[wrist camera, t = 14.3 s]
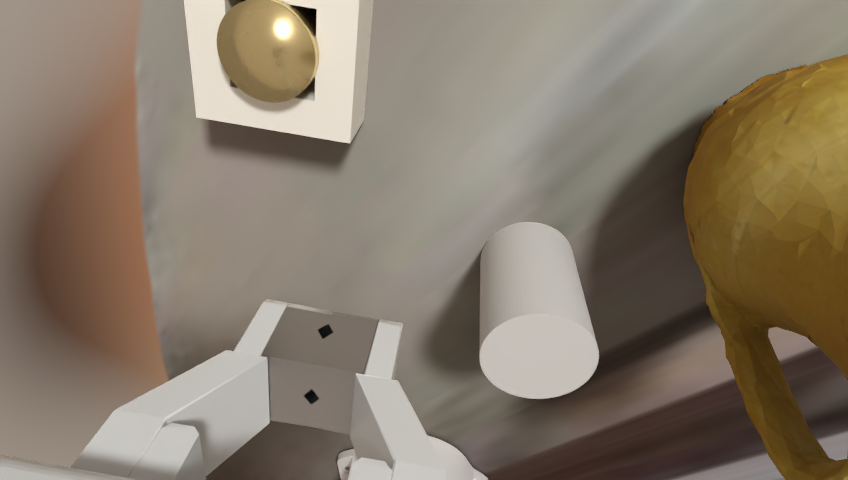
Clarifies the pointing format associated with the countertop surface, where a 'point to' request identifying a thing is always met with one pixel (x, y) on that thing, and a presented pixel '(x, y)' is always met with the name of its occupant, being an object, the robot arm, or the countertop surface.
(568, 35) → the countertop surface
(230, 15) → the brass dome knob
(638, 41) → the countertop surface
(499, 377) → the white cylinder
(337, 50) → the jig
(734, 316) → the pitcher
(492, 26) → the countertop surface
